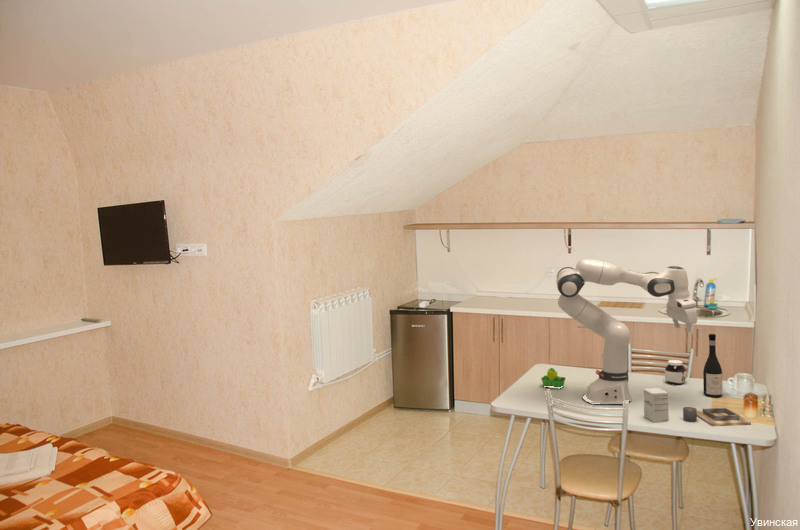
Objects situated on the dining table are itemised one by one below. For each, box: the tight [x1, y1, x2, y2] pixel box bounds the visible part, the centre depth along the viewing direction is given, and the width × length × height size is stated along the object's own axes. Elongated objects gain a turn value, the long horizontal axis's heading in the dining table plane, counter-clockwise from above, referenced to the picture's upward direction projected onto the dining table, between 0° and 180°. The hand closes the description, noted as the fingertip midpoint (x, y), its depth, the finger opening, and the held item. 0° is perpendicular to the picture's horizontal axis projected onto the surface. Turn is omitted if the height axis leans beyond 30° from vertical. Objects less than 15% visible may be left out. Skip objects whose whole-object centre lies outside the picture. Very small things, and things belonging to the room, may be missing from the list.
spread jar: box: [664, 359, 687, 386], centre depth 295 cm, size 12×11×12 cm
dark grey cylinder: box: [682, 406, 698, 423], centre depth 238 cm, size 5×5×5 cm
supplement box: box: [643, 387, 669, 423], centre depth 241 cm, size 7×7×13 cm
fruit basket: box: [540, 367, 566, 387], centre depth 295 cm, size 11×9×11 cm
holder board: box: [697, 407, 752, 427], centre depth 238 cm, size 16×16×3 cm
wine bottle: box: [702, 333, 723, 398], centre depth 269 cm, size 8×8×30 cm
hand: (682, 329), depth 258 cm, fingers open, 8 cm apart
